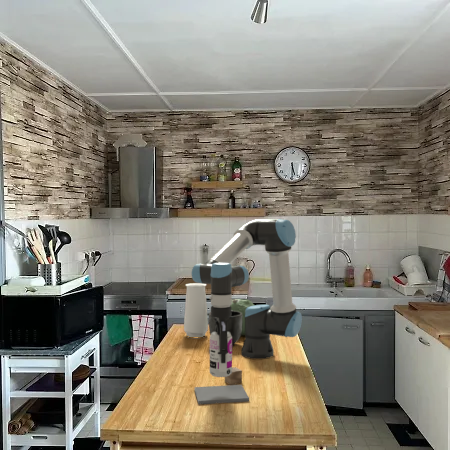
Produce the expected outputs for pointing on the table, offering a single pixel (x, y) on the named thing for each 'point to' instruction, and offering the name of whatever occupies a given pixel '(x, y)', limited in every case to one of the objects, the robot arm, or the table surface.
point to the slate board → (221, 394)
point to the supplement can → (215, 356)
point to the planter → (230, 325)
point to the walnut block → (234, 376)
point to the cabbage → (241, 309)
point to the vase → (195, 310)
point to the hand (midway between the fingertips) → (220, 367)
